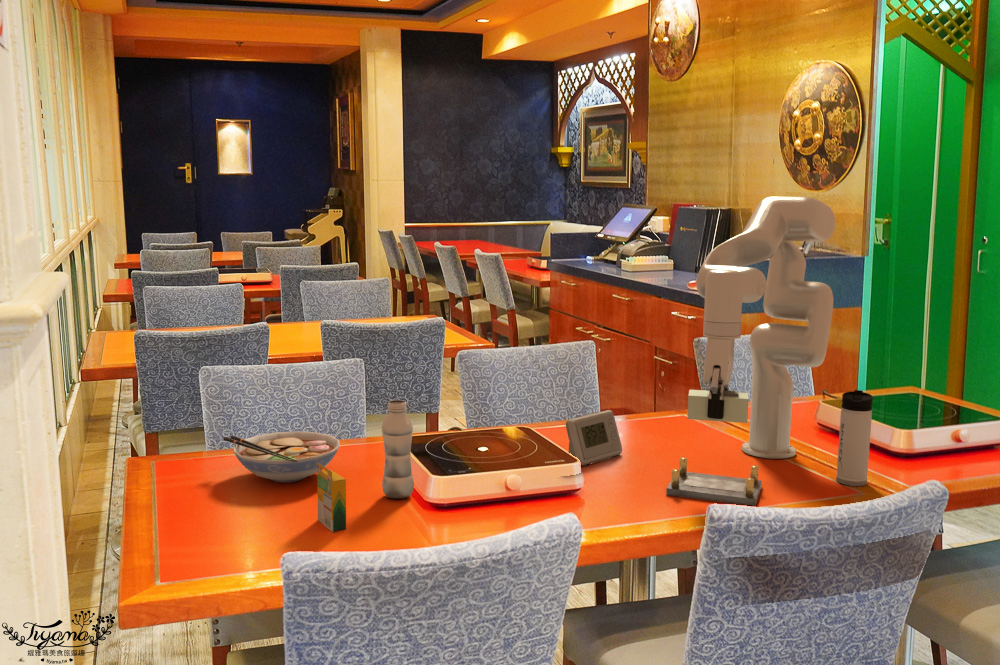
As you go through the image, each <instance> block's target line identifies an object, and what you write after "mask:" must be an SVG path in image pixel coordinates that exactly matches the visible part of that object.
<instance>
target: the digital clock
mask: <svg viewBox="0 0 1000 665" xmlns="http://www.w3.org/2000/svg"><path fill="white" fill-rule="evenodd" d="M615 418H616V417H615V415H614V412H613V411H612V410H610V409H607V410H602V411H595V412H592V413H587V414H584V415H581V416H577V417H574V418H571V419H568V420H567V421H566V422H565V428H566V434H567V437H568V441H569V442H568V454H569V453H571V454H572V455H573V456H575V457H577V458H578V459H579V460H580V462H581V465H582V466H587V464H590V465H592V464H591V463H593V464H595V463H594V462H596V463H599V462H598V461H600V462H602V461H601V460H603V461H606V460H609V459H608V458H610V459H612V458H611V457H613V458H614V457H616V456H619V455H621V454H622V453H623V447H622V441H621V438H620V434H619V430H618V426H617V422H616V419H615ZM605 459H606V460H605ZM582 466H581V467H582Z"/></svg>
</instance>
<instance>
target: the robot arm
mask: <svg viewBox="0 0 1000 665" xmlns="http://www.w3.org/2000/svg"><path fill="white" fill-rule="evenodd" d="M835 227H836V217H835V214H834V211H833V210H832V208H831V207H830V206H829V205H828V204H826V203H824V202H822V201H821V200H819V199H817V198H815V197H814V198H813V197H810V196H781V195H780V196H779V195H778V196H767V197H765V198H763V199H762V200H760V201H759V203H758V204H757V205H756V207H755V209H754V211H753V213H752V215H751V216H750V218H749V219H748V222H747V223H746V225H745V227H744V229H743V231H742V233H739V234H737V235H735V236H733V237H731V238H729V239H727V240H726V241H724V242H722V243H720V244H718V245H717V246H716V247H714V248H713V249H712V250H711V251H710V252H708V254H707V256H706V257H705V259H704V261H703V263H702V265H701V266H700V269H699V271H698V272H697V273H698V274H697V277H696V281H695V284H696V290H697V293H698V295H699V296H700V297H701V298H703V299H704V311H703V329H702V330H703V332H702V333H703V334H702V335H703V337H705V338H707V339H706V345H705V354H704V366H703V376H702V377H703V378H702V383H703V385H704V386H707V385H708V384H709V390H708V391H709V398H708V412H707V417H708V418H714V419H723V417H724V400H723V394H724V390H728V391H730V390H729V389H730V388H729V386H730V385H729V384H730V382H731V380H732V378H733V371H734V361H735V359H734V358H735V340H737V339H741V337H742V336H741V334H742V333H741V332H742V315H743V314H742V313H743V303H744V304H749V303H756V302H758V301H759V300H761V299H762V297H763V305H762V306H763V311H764V313H765V315H766V316H768V317H770V318H774V319H779V320H787V321H798V322H799V321H800V322H807V323H808V324H807V325H808V326H806V325H795V324H789V323H787V324H786V323H777V322H776V323H775V322H767V323H761V324H759V325H757V326H756V327H754V328H753V329H752V331H751V334H750V338H749V344H750V348H749V349H750V354H751V364H752V365H751V367H752V375H751V376H752V377H751V378H752V379H751V380H752V381H751V397H750V398H751V399H750V414H749V416H750V418H749V434H748V441H747V442H744V443H742V445H741V450H742V452H744V453H745V454H747V455H750V456H754V457H756V458H763V459H772V460H773V459H775V460H776V459H779V460H780V459H789V458H792V457H795V455H796V454H797V453H796V452H797V450H796V448H795V447H794V446H793V445H791V443H790V442H791V441H790V440H791V439H790V438H791V426H792V425H791V423H792V409H793V394H794V392H793V391H794V381H793V378H792V376H791V373H790V372H789V370H788V369H787V367H786V365H788V366H794V367H796V366H797V367H805V368H806V367H807V368H816V367H819V366H821V365H822V364H823V363H824V361H825V358H826V356H827V355H826V354H827V350H828V344H829V338H830V331H831V324H832V319H833V318H832V317H833V312H834V295H833V291H832V288H831V286H829V285H828V284H827V283H824V282H819V281H810V280H808V281H807V280H805V275H806V270H807V269H806V268H807V261H806V258H805V256H804V254H803V252H802V251H801V249H800V248H799V246H797V244H796V243H795V242H815V243H816V242H817V243H818V242H819V243H820V242H822V243H823V242H826V241H828V240H830V238H831V237H832V236H833V235H834V231H835V229H836V228H835ZM767 260H769V262H768V263H769V264H768V271H767V276H765V274H764V273H763V271H761V270H760V269H758V268H757V267H752V266H751V265H755V264H759V263H763V262H765V261H767ZM749 266H751V267H749Z"/></svg>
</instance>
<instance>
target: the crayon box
mask: <svg viewBox="0 0 1000 665" xmlns="http://www.w3.org/2000/svg"><path fill="white" fill-rule="evenodd" d="M316 474H317V477H316V478H317V482H316V484H317V522H319V523H321V524H322V525H323V526H324V527H325V528H327V529H328V530H329V531H331V533H337V532H340V531H345V530H347V479H346V478H344V477H343V476H341V475H340V474H338V473H337V472H335V471H333V470H332V469H328V468H327V466H325V467H324V466H323V465H321V464H319V463H318V462H317V473H316Z"/></svg>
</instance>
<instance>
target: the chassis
mask: <svg viewBox="0 0 1000 665" xmlns="http://www.w3.org/2000/svg"><path fill="white" fill-rule="evenodd" d="M678 468H679V469H676V468H672V469H671V480H670V482H669V483H668V485H667V487H666V489H665V490H666V492H665V494H666V495H665V496H669V497H670V496H672V497H679V498H685V499H686V498H687V499H695V500H700V501H701V500H702V501H709V502H717V503H718V502H719V501H722V502H721V503H726V504H732V503H734V505H740V504H744V505H743V506H747V505H752V506H751V507H756V505H757V502H758V499H759V496H760V492H761V490H762V483H763V481H762V480H760V479H759V468H760V467H759V465H755V464H754V465H751V466H750V476H749V477H747V478H744V477H743V478H741V477H735V476H726V475H717V474H709V473H708V474H707V473H701V472H692V471H688V458H687V457H679V466H678ZM719 503H720V502H719Z"/></svg>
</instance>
